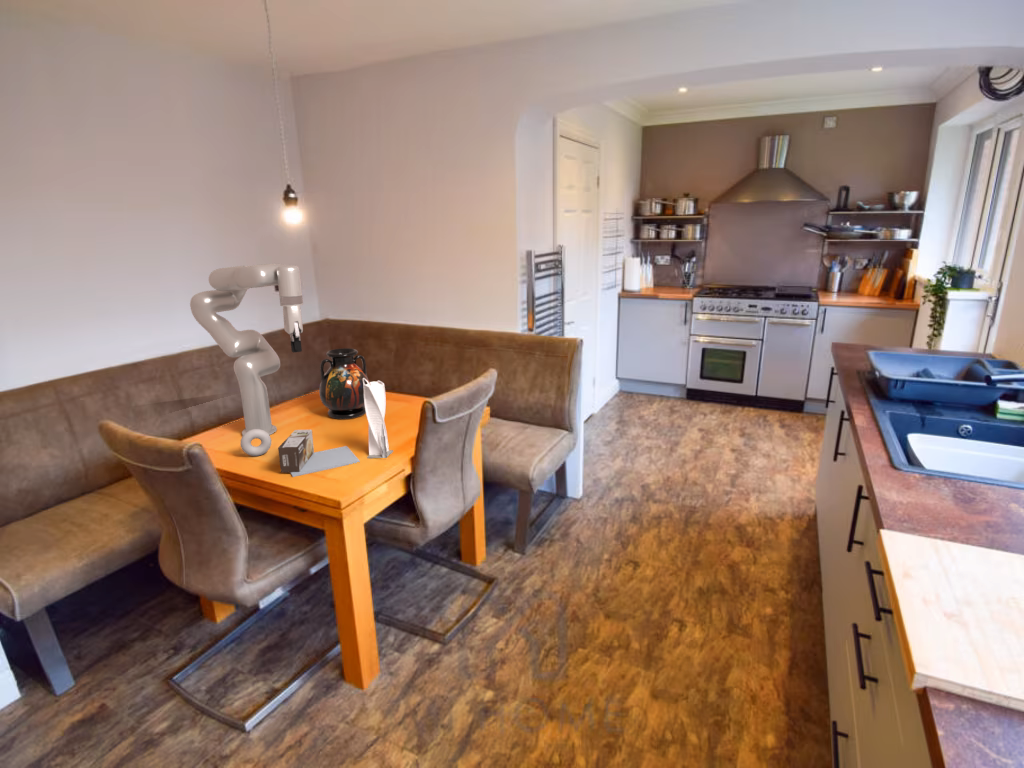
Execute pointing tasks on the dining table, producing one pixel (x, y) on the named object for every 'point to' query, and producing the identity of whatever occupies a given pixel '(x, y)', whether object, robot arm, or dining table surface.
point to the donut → (254, 450)
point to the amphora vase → (343, 384)
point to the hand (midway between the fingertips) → (296, 351)
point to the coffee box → (296, 451)
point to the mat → (328, 460)
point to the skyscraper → (376, 419)
